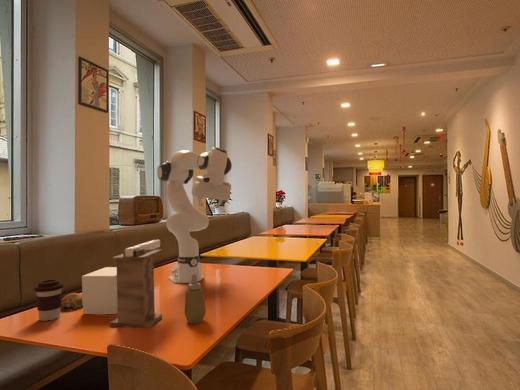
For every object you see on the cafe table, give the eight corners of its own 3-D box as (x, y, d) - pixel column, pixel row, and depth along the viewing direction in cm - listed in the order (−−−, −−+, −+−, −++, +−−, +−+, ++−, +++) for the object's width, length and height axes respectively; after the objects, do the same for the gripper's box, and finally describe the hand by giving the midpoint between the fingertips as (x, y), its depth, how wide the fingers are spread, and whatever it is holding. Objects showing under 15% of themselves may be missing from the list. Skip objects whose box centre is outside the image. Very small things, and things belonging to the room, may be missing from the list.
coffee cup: (45, 314, 145) (45, 278, 145) (68, 314, 145) (68, 278, 145) (29, 322, 135) (28, 284, 135) (54, 322, 135) (53, 284, 135)
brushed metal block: (153, 246, 154) (153, 239, 154) (160, 246, 154) (160, 239, 154) (125, 256, 128) (125, 248, 129) (133, 256, 128) (132, 248, 128)
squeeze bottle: (185, 318, 136) (184, 272, 136) (206, 317, 137) (205, 271, 137) (183, 326, 128) (182, 277, 128) (205, 324, 129) (204, 276, 129)
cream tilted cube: (106, 301, 161) (105, 267, 161) (135, 301, 160) (134, 267, 160) (82, 314, 143) (81, 276, 143) (114, 315, 142) (114, 276, 142)
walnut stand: (131, 311, 146) (130, 245, 146) (168, 311, 144) (166, 244, 144) (108, 327, 128) (107, 252, 128) (150, 328, 126) (148, 251, 127)
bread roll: (86, 314, 155) (92, 295, 159) (69, 310, 147) (75, 291, 150) (69, 312, 159) (75, 294, 162) (51, 308, 150) (58, 290, 153)
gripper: (228, 182, 182) (223, 208, 182) (193, 176, 169) (187, 203, 170) (234, 184, 177) (229, 210, 177) (198, 177, 164) (193, 206, 165)
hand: (208, 207), depth 174 cm, fingers open, 8 cm apart
